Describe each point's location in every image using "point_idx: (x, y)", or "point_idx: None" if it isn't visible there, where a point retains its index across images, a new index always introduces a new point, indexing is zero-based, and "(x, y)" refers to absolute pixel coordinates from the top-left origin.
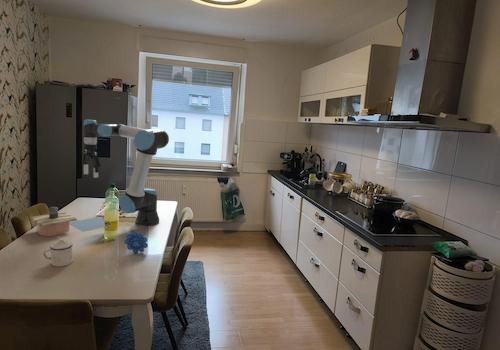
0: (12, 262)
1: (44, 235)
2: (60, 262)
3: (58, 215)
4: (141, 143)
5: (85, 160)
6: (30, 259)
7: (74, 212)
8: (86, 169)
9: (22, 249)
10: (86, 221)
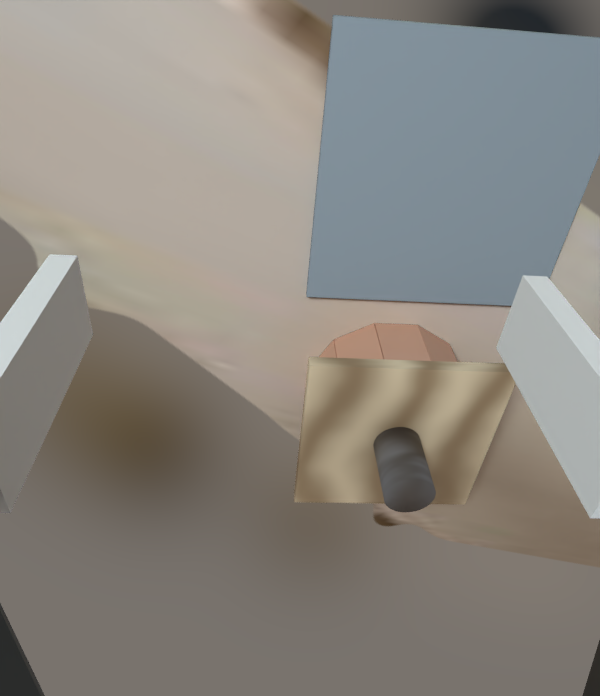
0: (558, 546)
1: None
2: None
3: (373, 414)
4: None
5: (30, 667)
6: (588, 518)
7: (49, 130)
8: (48, 362)
9: (484, 511)
10: (378, 198)
